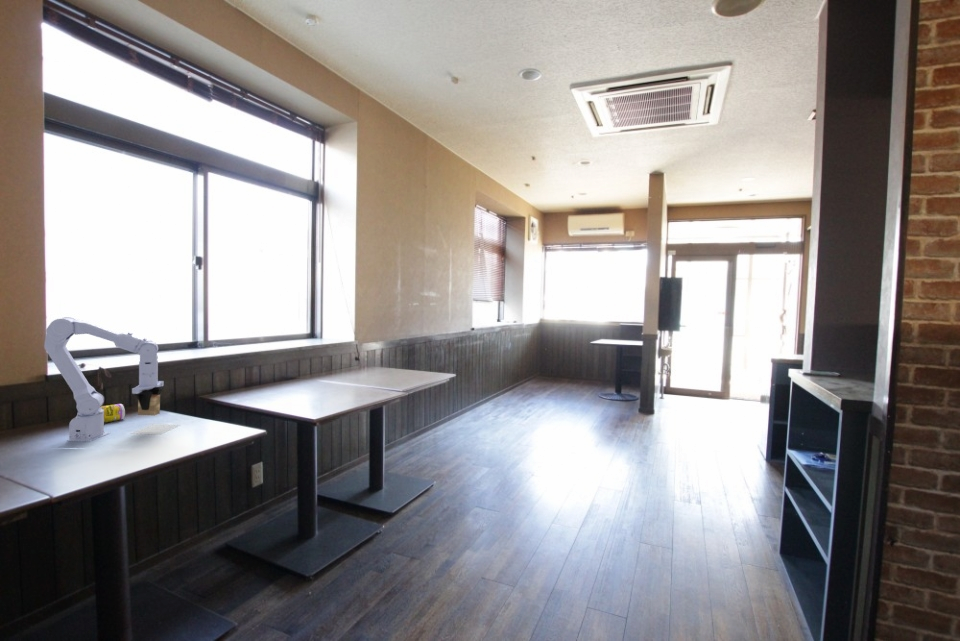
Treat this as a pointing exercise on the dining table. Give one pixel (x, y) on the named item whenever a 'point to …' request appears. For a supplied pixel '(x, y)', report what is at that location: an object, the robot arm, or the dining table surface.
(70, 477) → the dining table surface
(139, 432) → the grey mat
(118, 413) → the supplement bottle
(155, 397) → the oak block
